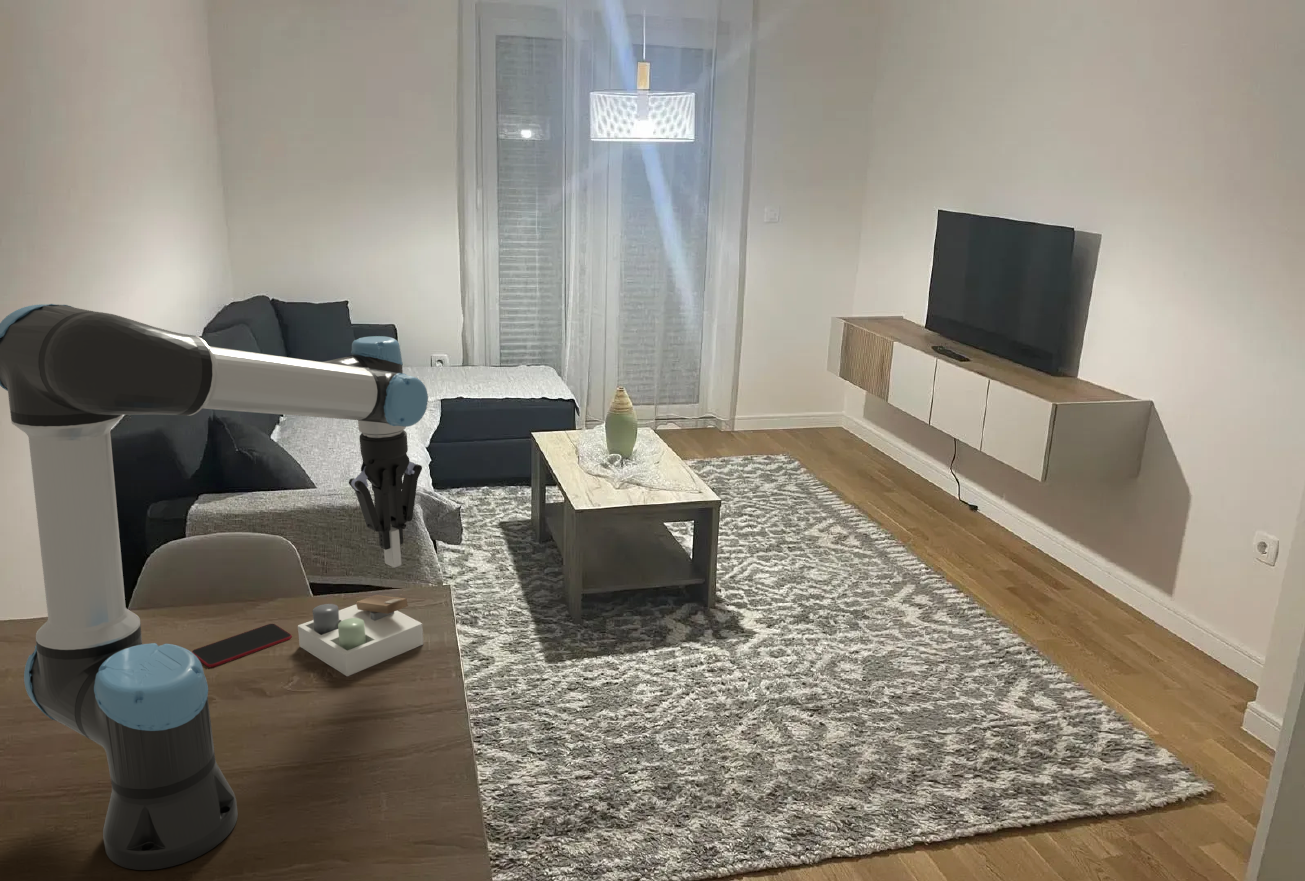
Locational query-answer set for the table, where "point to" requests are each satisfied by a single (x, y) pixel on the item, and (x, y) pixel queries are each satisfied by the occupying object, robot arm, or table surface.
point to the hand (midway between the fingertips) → (393, 564)
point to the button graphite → (325, 618)
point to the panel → (382, 640)
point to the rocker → (382, 604)
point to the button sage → (351, 633)
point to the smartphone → (241, 645)
